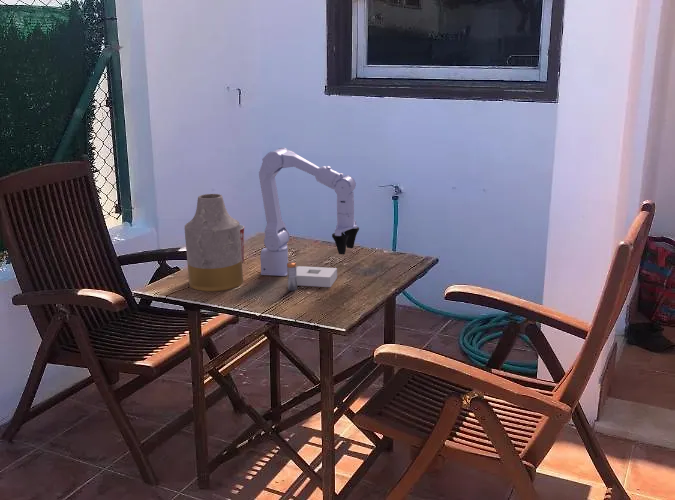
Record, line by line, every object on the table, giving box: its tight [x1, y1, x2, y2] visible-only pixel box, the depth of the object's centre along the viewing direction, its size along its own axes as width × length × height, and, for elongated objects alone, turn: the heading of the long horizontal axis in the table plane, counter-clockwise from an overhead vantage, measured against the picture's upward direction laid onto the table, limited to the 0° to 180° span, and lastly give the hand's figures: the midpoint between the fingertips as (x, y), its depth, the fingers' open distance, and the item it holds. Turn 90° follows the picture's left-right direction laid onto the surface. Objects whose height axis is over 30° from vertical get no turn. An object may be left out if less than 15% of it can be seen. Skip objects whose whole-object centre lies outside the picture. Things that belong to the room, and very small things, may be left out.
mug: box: [240, 224, 246, 264], centre depth 272 cm, size 13×9×14 cm
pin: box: [287, 261, 298, 292], centre depth 242 cm, size 3×3×9 cm
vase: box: [184, 193, 244, 293], centre depth 247 cm, size 18×18×30 cm
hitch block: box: [296, 265, 338, 288], centre depth 250 cm, size 14×10×4 cm
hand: (346, 250), depth 249 cm, fingers open, 7 cm apart
